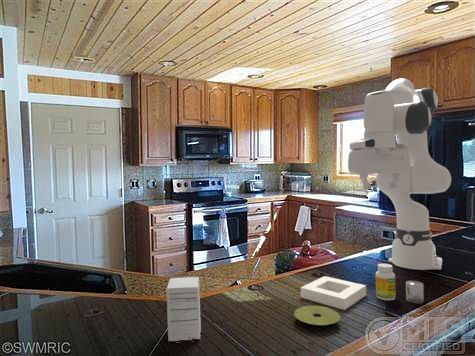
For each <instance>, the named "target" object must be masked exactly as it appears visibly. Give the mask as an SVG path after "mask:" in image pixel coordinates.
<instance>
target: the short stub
mask: <svg viewBox="0 0 475 356" xmlns="http://www.w3.org/2000/svg"><path fill="white" fill-rule="evenodd" d="M424 295H425V294H424V283H423V282H420V281H417V280H407V281H405V299H406V301H407V302H409V303H412V304H419V305H420V304H423V303H424V302H425V301H424Z"/></svg>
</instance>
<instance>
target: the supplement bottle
mask: <svg viewBox="0 0 475 356" xmlns="http://www.w3.org/2000/svg"><path fill="white" fill-rule="evenodd" d="M393 269H394V267H393V265H392V264H389V263H378V264H377V271H376V272H375V296H376V298H378V299H379V300H382V301H388V302H389V301H394V300H396V297H397V296H396V295H397V293H396V287H397V286H396V274H395V273H394V272H393Z"/></svg>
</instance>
